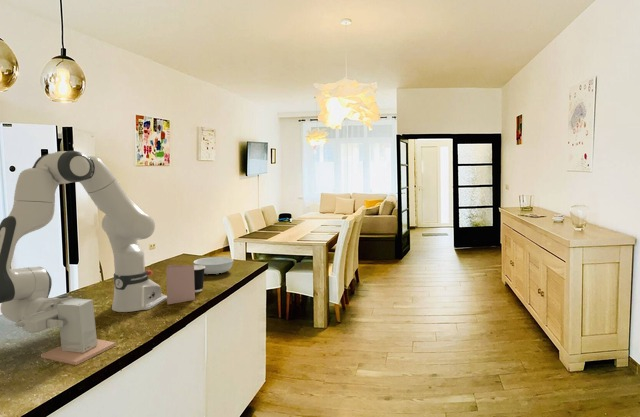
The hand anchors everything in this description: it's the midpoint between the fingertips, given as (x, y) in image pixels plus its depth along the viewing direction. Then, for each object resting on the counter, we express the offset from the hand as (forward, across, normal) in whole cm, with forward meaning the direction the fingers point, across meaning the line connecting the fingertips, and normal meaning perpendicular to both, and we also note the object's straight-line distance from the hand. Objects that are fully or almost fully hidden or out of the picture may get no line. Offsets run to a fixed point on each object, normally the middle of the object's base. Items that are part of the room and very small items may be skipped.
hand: (78, 318), depth 126 cm
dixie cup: (-6, +66, +11) cm, 67 cm away
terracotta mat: (0, 0, +10) cm, 10 cm away
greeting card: (-3, +50, +11) cm, 51 cm away
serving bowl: (-18, +97, +11) cm, 99 cm away
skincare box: (0, 0, +10) cm, 10 cm away
